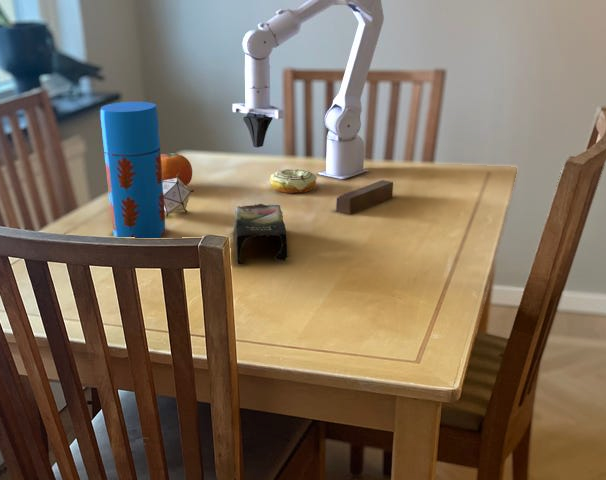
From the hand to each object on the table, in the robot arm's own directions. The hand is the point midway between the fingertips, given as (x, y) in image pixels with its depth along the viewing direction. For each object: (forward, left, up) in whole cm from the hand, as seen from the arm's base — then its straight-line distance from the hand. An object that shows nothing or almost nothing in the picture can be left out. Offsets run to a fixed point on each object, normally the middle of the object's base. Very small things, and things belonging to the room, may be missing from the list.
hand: (258, 146), depth 190 cm
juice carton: (+35, +32, -8) cm, 48 cm away
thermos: (+45, +8, -8) cm, 46 cm away
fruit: (+18, -12, -8) cm, 23 cm away
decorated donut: (0, +11, -8) cm, 14 cm away
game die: (+31, +3, -8) cm, 32 cm away
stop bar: (0, +32, -8) cm, 33 cm away
